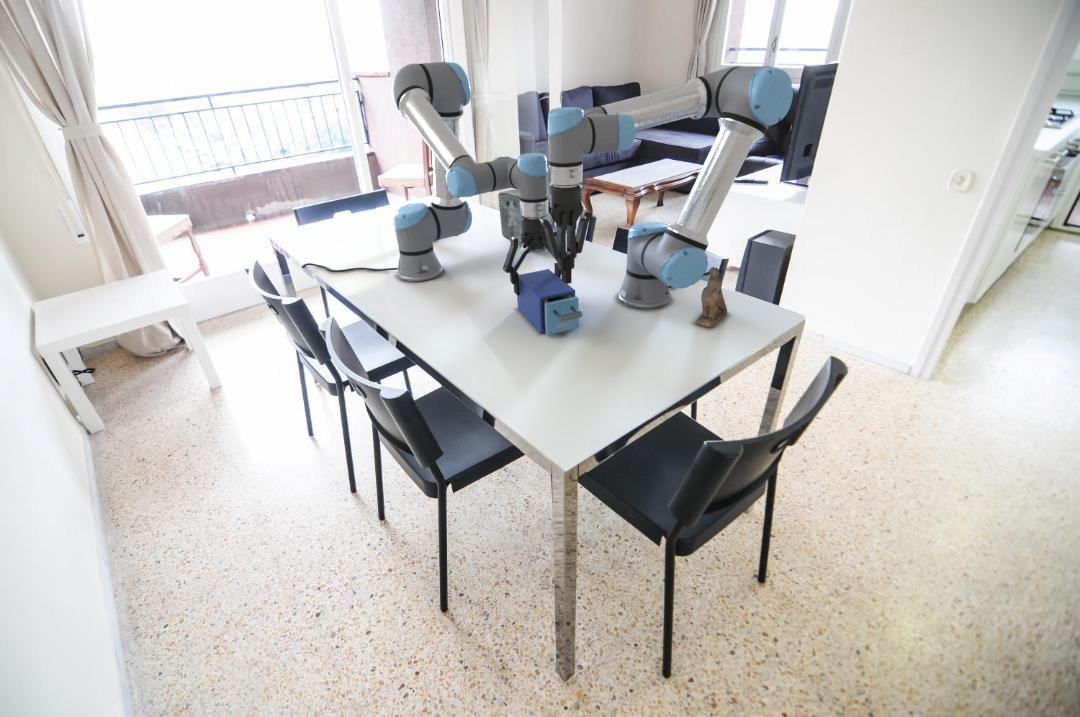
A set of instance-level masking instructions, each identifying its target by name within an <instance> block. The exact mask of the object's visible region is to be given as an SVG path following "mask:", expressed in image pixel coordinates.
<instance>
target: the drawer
mask: <svg viewBox="0 0 1080 717" xmlns="http://www.w3.org/2000/svg"><path fill="white" fill-rule="evenodd" d="M579 299H580V298H579V297H578V296H575V297H572V296H571V295H570V294H568V295H563V296H559V297H554V298H549V299H545V300H543V327H544V328H545V329H546V333H545V334H546V336H550V335H555V334H558V333H559V334H560V333H563V332H567V331H572V330H575V329H578V328H579V319H581V318H582V317H583V312H582V310H579V305H580V304H579Z"/></svg>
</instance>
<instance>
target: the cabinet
mask: <svg viewBox="0 0 1080 717" xmlns="http://www.w3.org/2000/svg"><path fill="white" fill-rule="evenodd" d="M519 289H520V295H518V296H517V295H516V300H517V301H516V302H517V310H518V311H519V312H520V313H521V314H522V315H523V316H524V318H526V319H527V320H528V321H529V322H530V324H531V325H532V326H533V327H534V328H535V329H536V330H537V332H539V333H540V334H546V329H545V328H544V327H543V300H545V299H549V298H554V297H559V296H563V295H568V294H570V295H571V296H572V297H576V289H575V288H573V287H572V286H571V285H569V284H565V283H564V282H563V281H562V279H561V278H559V277H558V276H557V275H556V274H555V272H554V271H552V270H550V269H549V268H546V269H541V270H537V271H531V272H526V273H520V274H519Z"/></svg>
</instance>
